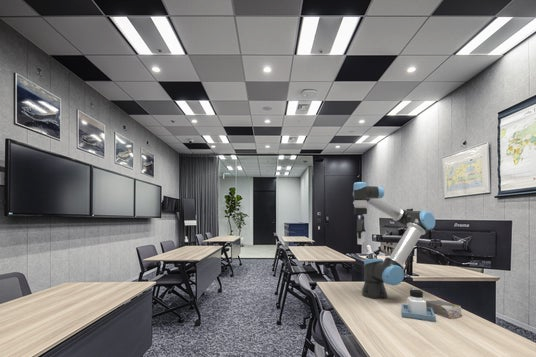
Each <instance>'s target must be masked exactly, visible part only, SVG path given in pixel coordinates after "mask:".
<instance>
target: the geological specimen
mask: <svg viewBox="0 0 536 357" xmlns="http://www.w3.org/2000/svg"><path fill="white" fill-rule="evenodd" d="M425 301H426V306H427V307H430V308H432V309H433V311H434V314H435V315H438V316H441V317H442V318H445V319H449V320H455V319H460V318H461V317H462V316H463V315H462V310H463V309H462V307H461V305H458V304H454V303H451V302H448V301H444V300H441V299H436V300H425Z"/></svg>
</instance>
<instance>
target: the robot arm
mask: <svg viewBox="0 0 536 357" xmlns="http://www.w3.org/2000/svg"><path fill="white" fill-rule="evenodd" d="M384 196H385V189H384V188H383V186H378V185H377V186H375V185H374V186H372V185H367V182H363V181H357V182H354V183H353V191H352V197H353V202H352V204H353V207H354V208H353V214H354V215H357V216H356V231H355V233H356V236H357V245H363V244H364V243H366V237H365V235H366V234H365V233H366V228H365V227H366V226H365V216H364V215H367V214H368V208H367V207H368V205H369V206H371V207H373V208H374V209H376V210H378V211H380V212H382V213H383V214H385V215H387V216H389V217H390V218H392V220H393V221H395V223H398V224H400V225H402V226H404V227H405V228H406V230H405V231H404V233H403V234H402V237H401V238H400V239H399V241H398V243H396V245H395V247H394V249H393V251H392V252H391V254H390V255H389V256H388V257H385V258H384V260H383V259H382V258H365V259H364V262H363V267H364V268H363V269H364V270H363V271H364V273H363V274H364V283H363V286H362V289H361V290H362V291H361V295H362V296H363V297H366V298H369V299H377V300H378V299H379V300H381V299H382V300H383V299H387V298H388V292H387V289H386V287H385V284H387V285H389V286H390V285H391V286H397V285H399V284H401V283H402V282H403V280H404V278H405V272H404V270H405V267H404V264H405V262H406V261H407V259H408V257H409V256H410V254H411V252H412V251H413V249H414V247H416V245H417V242H418V241H419V240H420V238H421V236H423V235H426V233H427V231H428V230H430V231H431V230H433V229H434V228H435V226H436V218H435V216H434V214H433V213H432V212H431V211H429V210H406V209H403V208H401V207H397V206H395V205H393V204H392V203H389V201H386V200H385V199H383V198H384Z"/></svg>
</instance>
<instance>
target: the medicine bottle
mask: <svg viewBox="0 0 536 357" xmlns="http://www.w3.org/2000/svg"><path fill="white" fill-rule="evenodd" d="M426 301H427V300H424V293H423V291H422V290H421V289H418V288H411V289H410V290H409V296H408V297H407V305H408V311H409V312H410V313H416V314H423V315H427V306H426Z"/></svg>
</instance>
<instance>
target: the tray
mask: <svg viewBox="0 0 536 357" xmlns="http://www.w3.org/2000/svg"><path fill="white" fill-rule="evenodd" d="M400 307H401V317H402V318H405V319H412V320H418V321H419V320H420V321H423V322H424V321H425V322H432V323H437V318H436V314H434V311H433V309H432V308H430V307H427V315H423V314H416V313H410V312H409V311H408V304H405V303H401V306H400Z"/></svg>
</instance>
